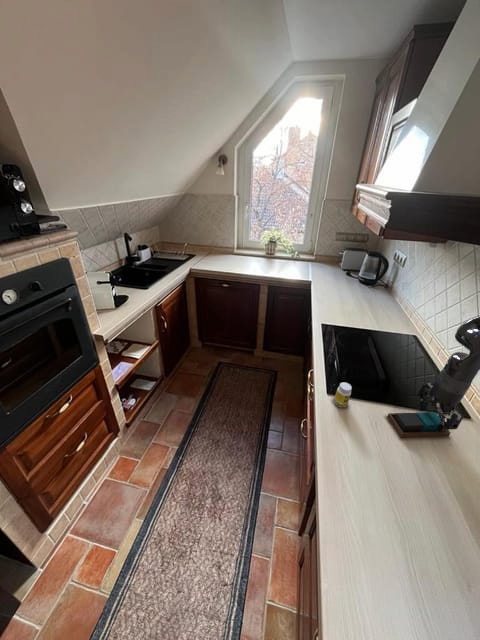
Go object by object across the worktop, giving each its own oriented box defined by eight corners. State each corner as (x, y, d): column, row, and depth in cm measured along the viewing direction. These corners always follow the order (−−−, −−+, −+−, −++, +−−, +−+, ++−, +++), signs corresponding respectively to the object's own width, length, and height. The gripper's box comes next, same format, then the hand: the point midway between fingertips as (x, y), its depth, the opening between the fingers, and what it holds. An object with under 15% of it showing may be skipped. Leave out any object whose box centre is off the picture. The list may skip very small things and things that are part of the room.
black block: (410, 419, 88) (414, 412, 86) (420, 432, 84) (424, 425, 82) (392, 419, 87) (396, 413, 86) (401, 432, 83) (405, 425, 81)
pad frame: (430, 416, 90) (433, 412, 89) (448, 436, 83) (451, 432, 82) (386, 417, 89) (388, 413, 88) (400, 438, 82) (402, 434, 81)
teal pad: (430, 418, 88) (435, 412, 86) (441, 431, 84) (446, 424, 82) (412, 419, 88) (416, 412, 86) (422, 432, 83) (426, 425, 82)
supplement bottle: (342, 409, 91) (348, 393, 87) (331, 401, 95) (336, 385, 90) (349, 403, 94) (355, 386, 90) (338, 395, 97) (343, 379, 93)
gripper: (483, 402, 70) (457, 439, 79) (445, 368, 83) (425, 403, 91) (458, 403, 70) (434, 440, 78) (423, 368, 82) (405, 403, 90)
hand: (429, 420), depth 84 cm, fingers open, 8 cm apart
